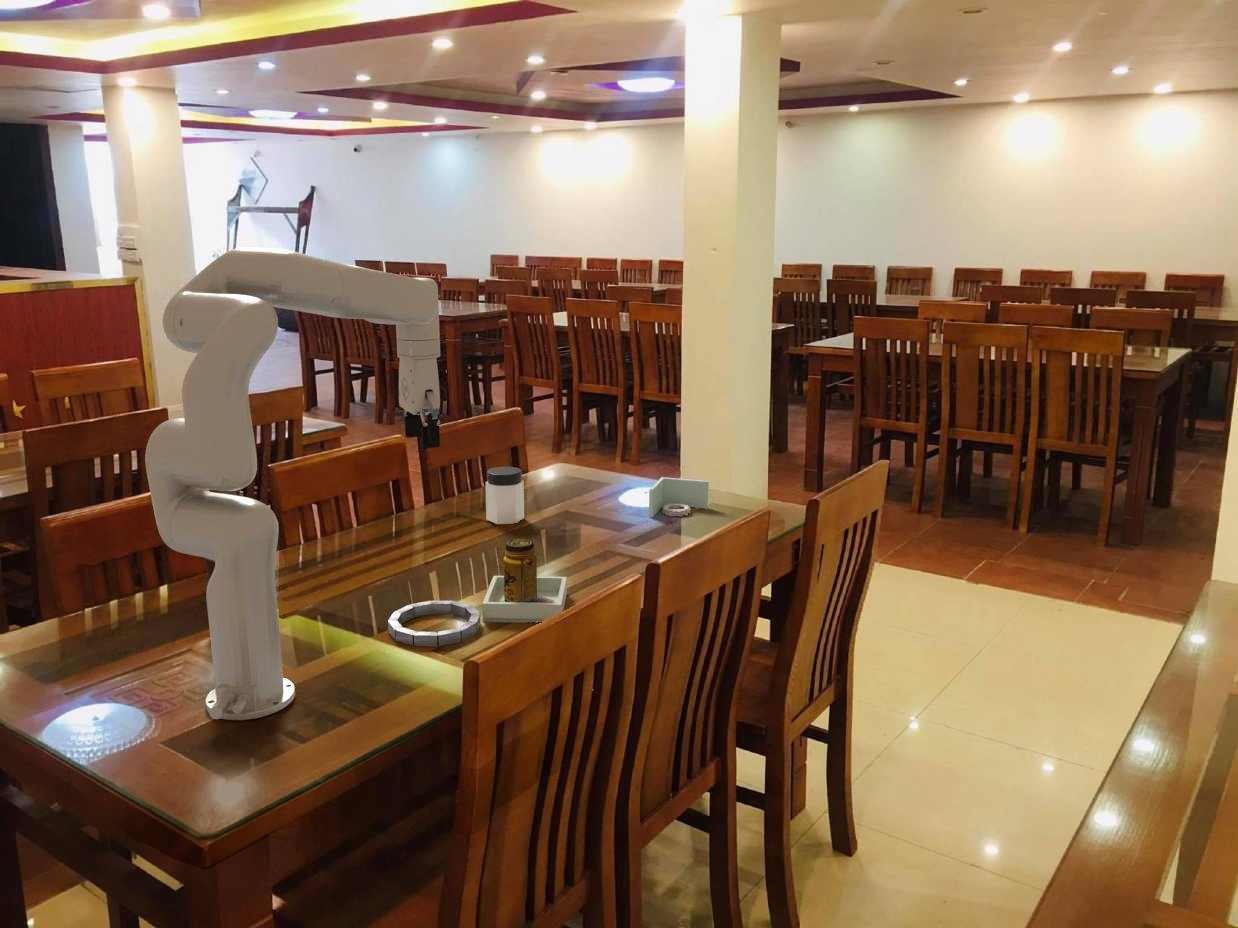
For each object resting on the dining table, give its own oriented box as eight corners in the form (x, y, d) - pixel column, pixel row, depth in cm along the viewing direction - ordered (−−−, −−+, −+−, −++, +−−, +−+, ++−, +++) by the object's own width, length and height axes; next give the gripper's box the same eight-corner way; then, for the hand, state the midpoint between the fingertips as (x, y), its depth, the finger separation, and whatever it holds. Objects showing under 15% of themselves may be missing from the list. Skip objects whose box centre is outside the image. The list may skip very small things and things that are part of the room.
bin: (561, 623, 180) (560, 604, 179) (482, 621, 180) (482, 603, 179) (566, 593, 193) (566, 576, 192) (494, 592, 193) (493, 575, 193)
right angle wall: (648, 519, 242) (649, 489, 240) (660, 506, 253) (661, 477, 251) (697, 523, 239) (698, 493, 237) (707, 510, 250) (708, 480, 248)
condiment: (494, 604, 186) (493, 542, 183) (528, 592, 192) (527, 532, 189) (520, 614, 181) (519, 551, 178) (555, 602, 187) (554, 540, 184)
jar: (498, 512, 244) (497, 464, 242) (528, 516, 242) (528, 467, 239) (481, 522, 236) (479, 473, 233) (512, 526, 234) (511, 476, 231)
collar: (471, 647, 169) (471, 636, 169) (380, 645, 170) (379, 634, 169) (485, 611, 184) (485, 601, 184) (401, 610, 185) (400, 599, 184)
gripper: (384, 343, 185) (388, 434, 189) (413, 356, 170) (417, 454, 174) (423, 341, 188) (427, 431, 192) (455, 353, 173) (458, 449, 178)
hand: (422, 442), depth 183 cm, fingers open, 9 cm apart
